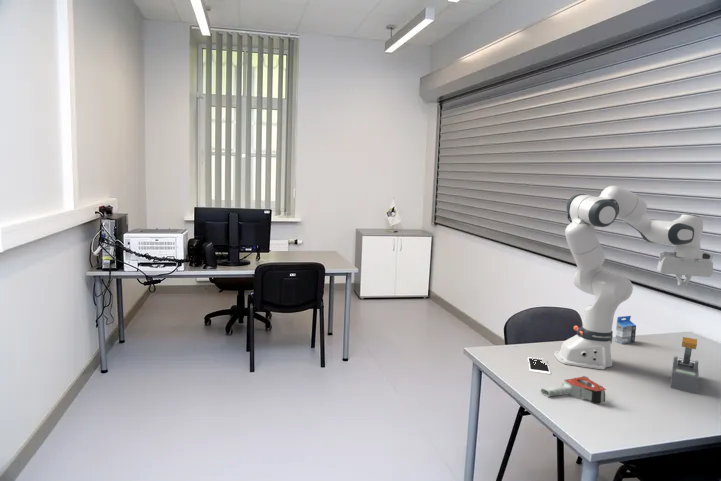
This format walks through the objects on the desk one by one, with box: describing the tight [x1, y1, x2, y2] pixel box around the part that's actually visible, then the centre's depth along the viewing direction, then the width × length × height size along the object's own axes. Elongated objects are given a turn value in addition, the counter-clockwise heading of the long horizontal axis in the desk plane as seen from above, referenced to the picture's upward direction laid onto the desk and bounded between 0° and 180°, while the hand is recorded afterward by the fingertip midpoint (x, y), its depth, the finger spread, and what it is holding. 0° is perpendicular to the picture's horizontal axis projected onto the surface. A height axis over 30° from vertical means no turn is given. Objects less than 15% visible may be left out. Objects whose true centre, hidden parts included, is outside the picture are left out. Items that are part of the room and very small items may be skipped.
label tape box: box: [614, 315, 637, 345], centre depth 226 cm, size 9×4×12 cm, turn 111°
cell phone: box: [527, 356, 551, 375], centre depth 193 cm, size 8×16×1 cm, turn 164°
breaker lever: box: [678, 336, 698, 368], centre depth 178 cm, size 3×5×14 cm, turn 55°
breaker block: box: [670, 356, 700, 395], centre depth 181 cm, size 20×8×9 cm, turn 145°
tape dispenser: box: [540, 375, 607, 405], centre depth 167 cm, size 18×5×20 cm
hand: (682, 285), depth 199 cm, fingers closed
